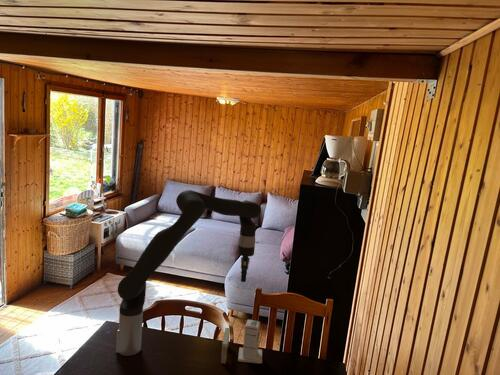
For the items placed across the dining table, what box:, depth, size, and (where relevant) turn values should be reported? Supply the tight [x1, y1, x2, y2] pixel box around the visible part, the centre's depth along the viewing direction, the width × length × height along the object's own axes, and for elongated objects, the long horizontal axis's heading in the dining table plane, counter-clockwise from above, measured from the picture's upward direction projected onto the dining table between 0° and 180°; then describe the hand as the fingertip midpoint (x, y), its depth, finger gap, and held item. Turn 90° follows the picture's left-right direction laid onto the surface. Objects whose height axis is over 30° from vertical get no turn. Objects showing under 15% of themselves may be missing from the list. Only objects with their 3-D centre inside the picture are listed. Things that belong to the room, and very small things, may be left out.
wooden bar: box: [221, 327, 231, 349], centre depth 152 cm, size 2×12×2 cm, turn 178°
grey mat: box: [237, 347, 263, 365], centre depth 153 cm, size 10×8×1 cm
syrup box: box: [242, 319, 261, 360], centre depth 151 cm, size 6×6×14 cm
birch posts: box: [220, 331, 231, 364], centre depth 152 cm, size 2×13×7 cm, turn 178°
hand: (243, 278), depth 165 cm, fingers open, 8 cm apart
